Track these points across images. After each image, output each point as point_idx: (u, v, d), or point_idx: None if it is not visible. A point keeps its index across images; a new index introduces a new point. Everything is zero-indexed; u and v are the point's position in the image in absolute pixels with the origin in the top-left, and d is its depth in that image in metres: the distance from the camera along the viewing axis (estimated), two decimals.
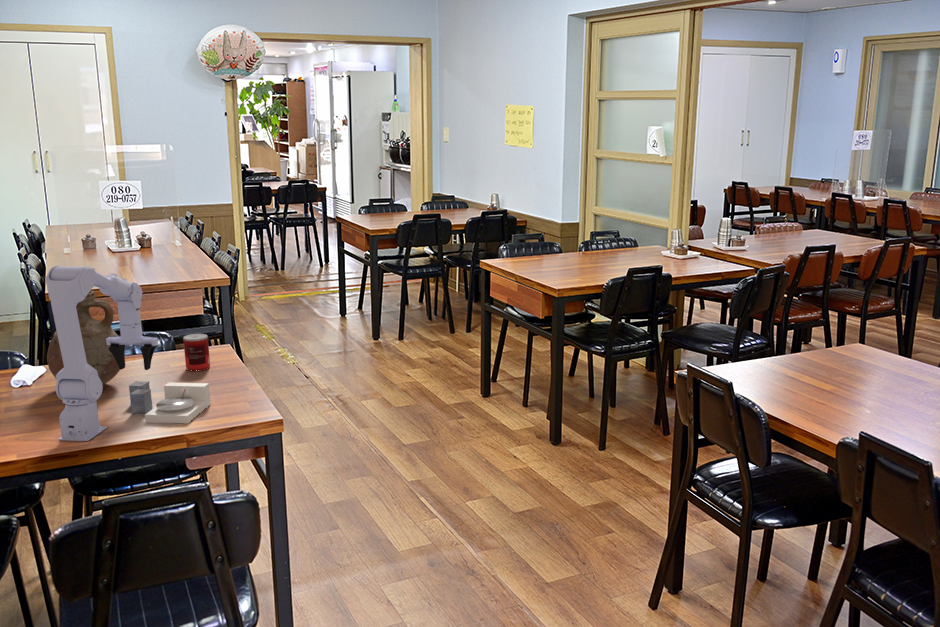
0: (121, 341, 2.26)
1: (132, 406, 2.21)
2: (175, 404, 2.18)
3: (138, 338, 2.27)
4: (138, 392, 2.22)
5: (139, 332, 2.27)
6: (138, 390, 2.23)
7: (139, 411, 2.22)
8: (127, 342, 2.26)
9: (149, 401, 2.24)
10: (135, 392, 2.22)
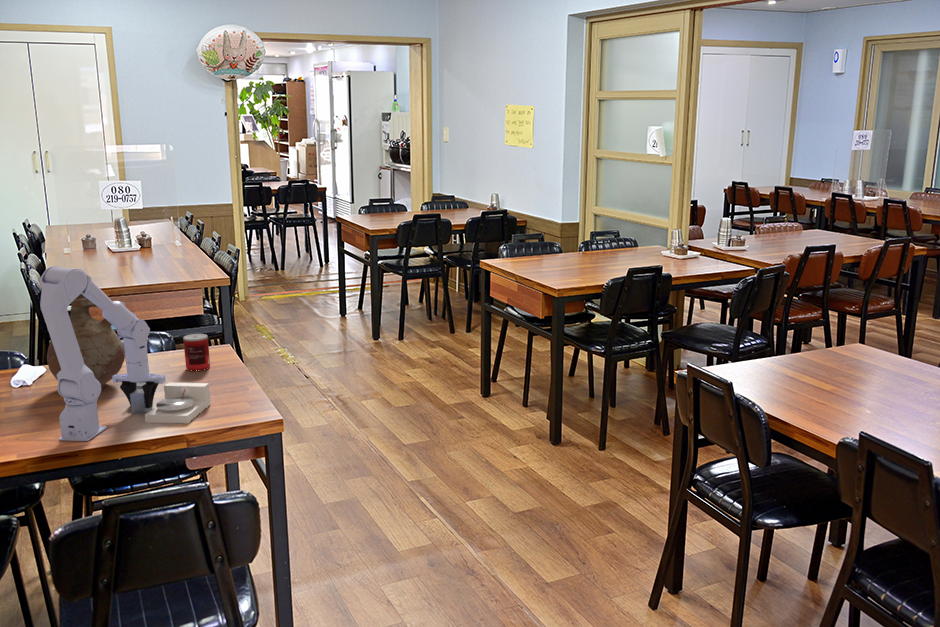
0: (127, 379, 2.19)
1: (132, 406, 2.21)
2: (175, 404, 2.18)
3: (145, 376, 2.20)
4: (138, 392, 2.22)
5: (146, 370, 2.20)
6: (138, 390, 2.23)
7: (139, 411, 2.21)
8: (134, 380, 2.18)
9: None
10: (135, 392, 2.22)
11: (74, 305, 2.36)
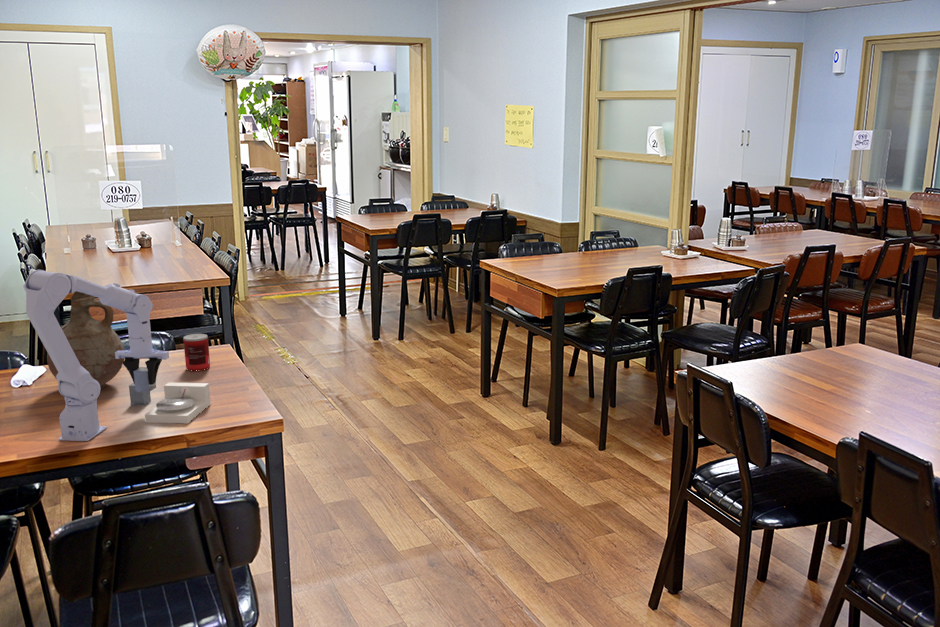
0: (131, 355, 2.17)
1: (136, 383, 2.20)
2: (175, 404, 2.18)
3: (148, 352, 2.18)
4: (142, 369, 2.20)
5: (149, 345, 2.18)
6: (142, 367, 2.22)
7: (143, 388, 2.20)
8: (137, 356, 2.16)
9: None
10: (139, 369, 2.20)
11: (74, 305, 2.36)
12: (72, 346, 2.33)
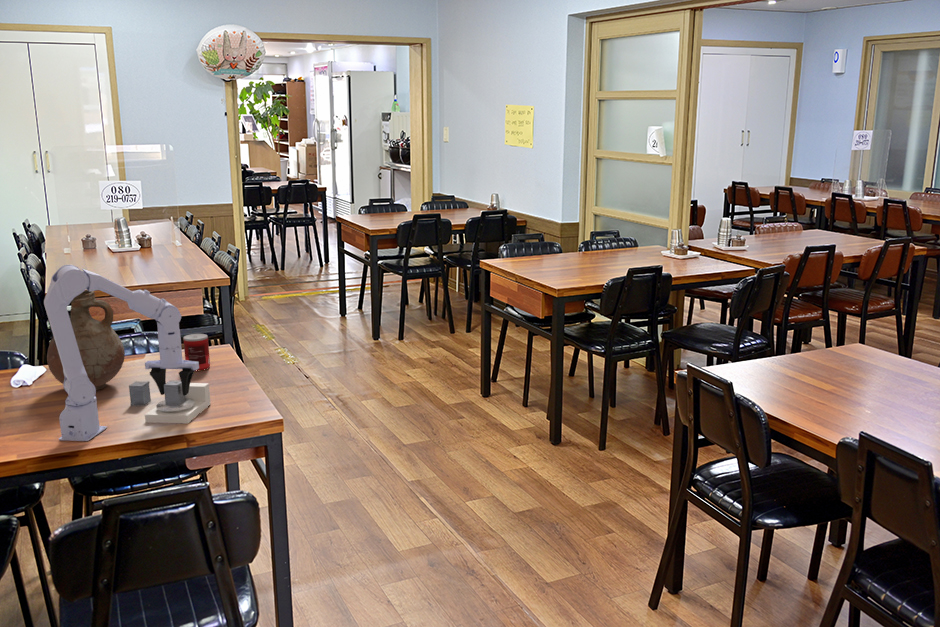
0: (161, 365, 2.15)
1: (166, 397, 2.18)
2: None
3: (178, 362, 2.16)
4: (172, 383, 2.18)
5: (179, 356, 2.16)
6: (171, 381, 2.20)
7: (173, 402, 2.18)
8: (167, 366, 2.14)
9: None
10: (169, 383, 2.18)
11: (74, 305, 2.36)
12: None
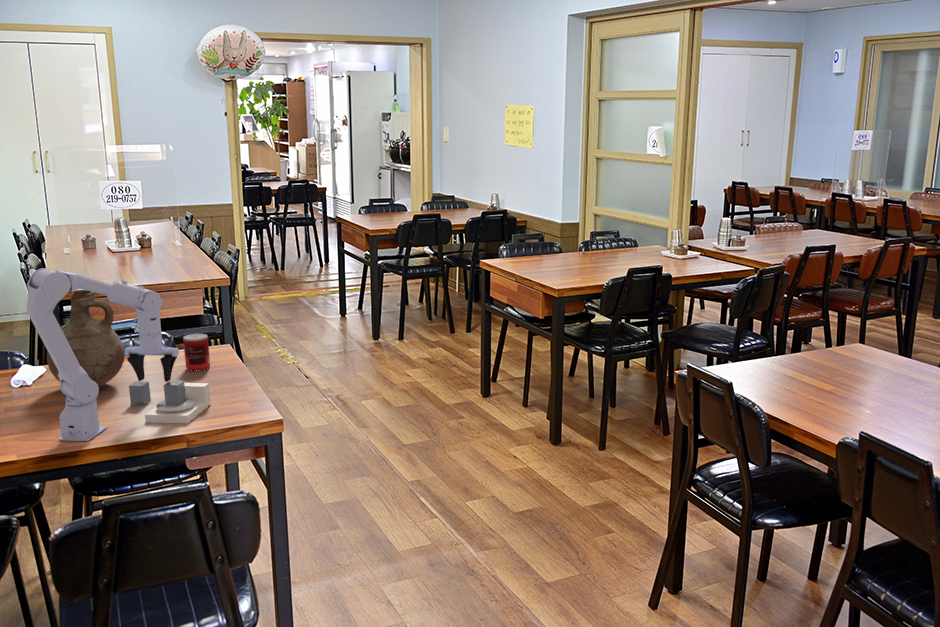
0: (140, 351, 2.16)
1: (166, 397, 2.18)
2: None
3: (158, 348, 2.16)
4: (172, 383, 2.18)
5: (159, 342, 2.17)
6: (171, 381, 2.20)
7: (173, 402, 2.18)
8: (146, 352, 2.15)
9: (183, 392, 2.20)
10: (169, 383, 2.18)
11: (74, 305, 2.36)
12: (72, 346, 2.33)
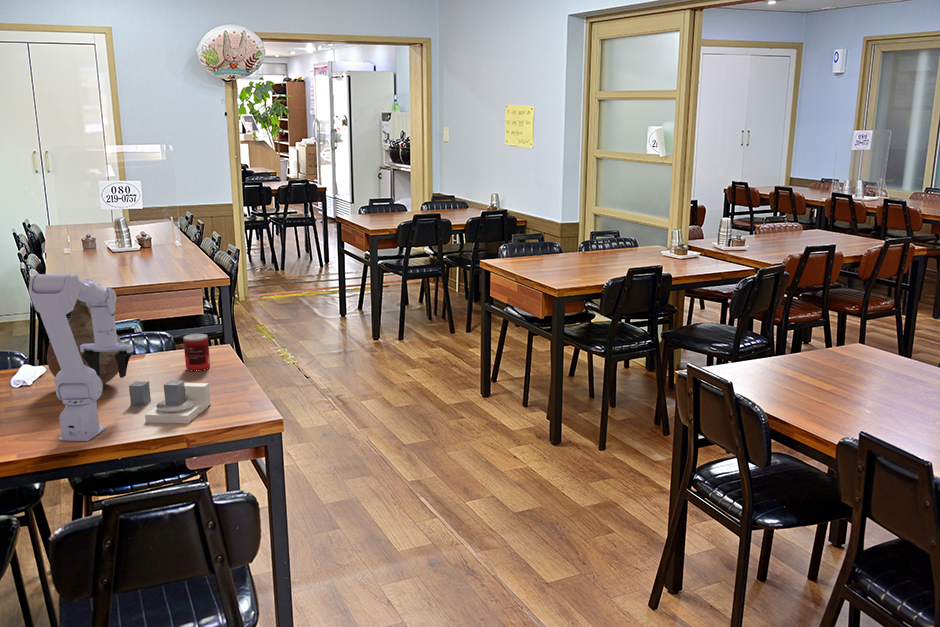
0: (95, 348, 2.19)
1: (166, 397, 2.18)
2: None
3: (113, 345, 2.20)
4: (172, 383, 2.18)
5: (114, 339, 2.20)
6: (171, 381, 2.20)
7: (173, 402, 2.18)
8: (101, 349, 2.18)
9: (183, 392, 2.20)
10: (169, 383, 2.18)
11: None
12: None
